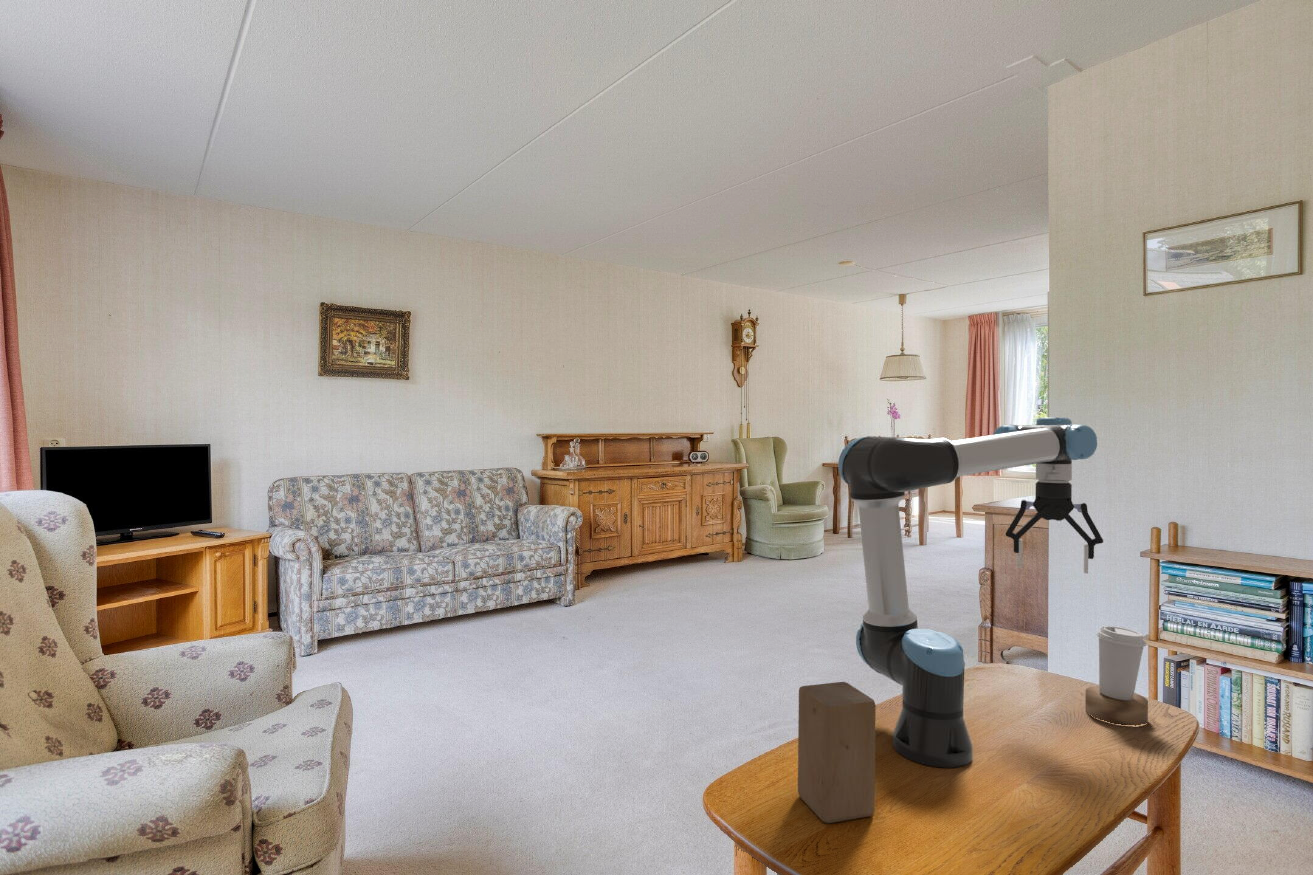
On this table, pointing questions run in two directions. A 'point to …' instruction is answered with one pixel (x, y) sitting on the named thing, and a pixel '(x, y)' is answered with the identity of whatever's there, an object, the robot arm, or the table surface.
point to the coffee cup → (1119, 661)
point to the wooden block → (836, 751)
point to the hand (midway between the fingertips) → (1052, 569)
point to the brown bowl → (1116, 708)
